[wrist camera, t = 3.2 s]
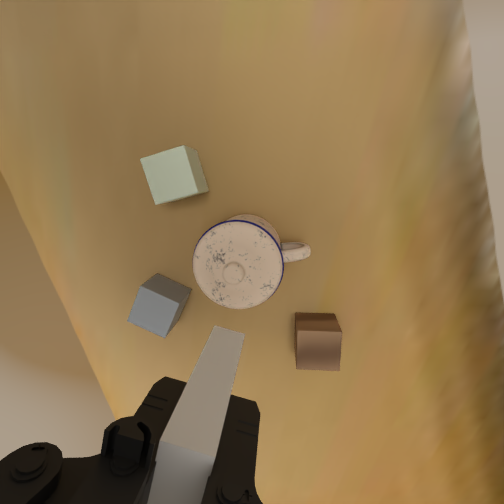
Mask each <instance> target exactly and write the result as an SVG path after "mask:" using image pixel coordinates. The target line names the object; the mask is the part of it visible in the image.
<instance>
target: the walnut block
mask: <svg viewBox="0 0 504 504" xmlns="http://www.w3.org/2000/svg"><path fill="white" fill-rule="evenodd" d="M341 341H342V331H341V328H340V326H339V324H338V321H337V319H336V316H335V314H328V313H295V357H296V369H304V370H326V371H340V357H341Z"/></svg>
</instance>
